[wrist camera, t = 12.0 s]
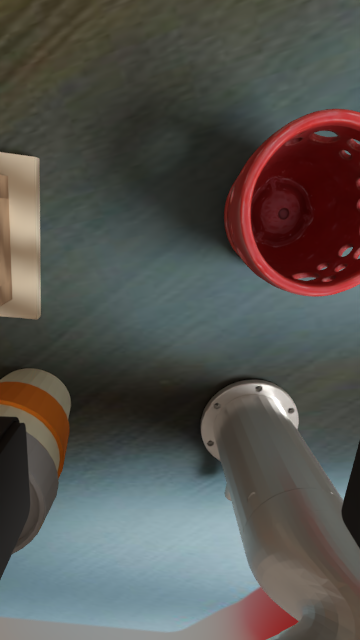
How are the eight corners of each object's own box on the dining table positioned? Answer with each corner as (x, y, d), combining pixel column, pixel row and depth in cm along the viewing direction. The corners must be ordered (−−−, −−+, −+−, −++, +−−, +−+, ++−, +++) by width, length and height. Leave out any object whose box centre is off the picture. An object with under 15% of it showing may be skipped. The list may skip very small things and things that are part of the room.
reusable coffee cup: (17, 459, 42) (-52, 584, 28) (-44, 381, 38) (-161, 481, 24) (104, 420, 41) (78, 528, 27) (50, 336, 38) (-13, 412, 23)
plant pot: (358, 189, 35) (455, 178, 24) (284, 293, 38) (339, 328, 27) (260, 113, 32) (318, 59, 21) (188, 232, 35) (205, 242, 24)
